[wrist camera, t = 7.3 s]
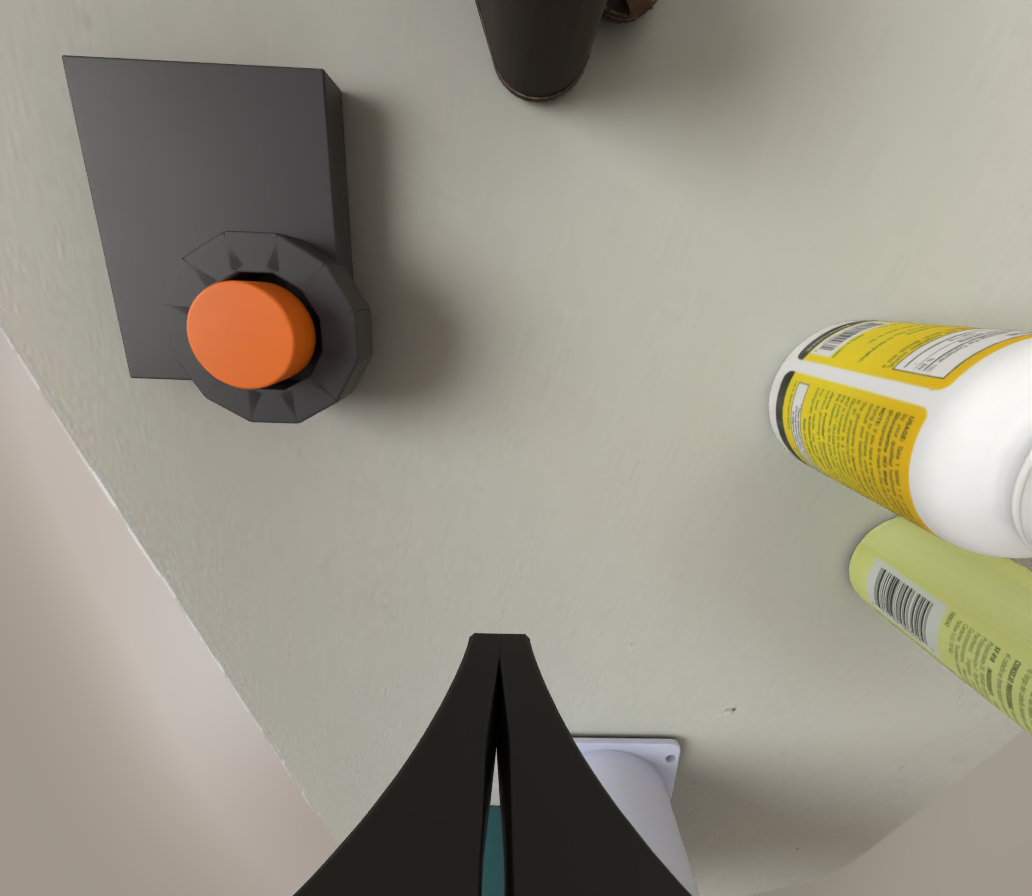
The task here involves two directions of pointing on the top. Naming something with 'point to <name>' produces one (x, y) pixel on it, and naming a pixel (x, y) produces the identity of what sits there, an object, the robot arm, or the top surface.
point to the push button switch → (222, 212)
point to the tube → (954, 608)
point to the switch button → (250, 333)
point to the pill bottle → (919, 424)
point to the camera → (547, 40)
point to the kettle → (493, 856)
